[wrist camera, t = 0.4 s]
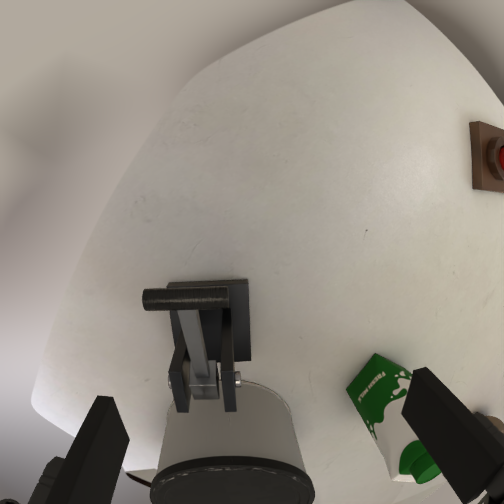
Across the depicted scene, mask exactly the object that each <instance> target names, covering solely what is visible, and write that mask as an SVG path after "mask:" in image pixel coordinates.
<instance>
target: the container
mask: <svg viewBox="0 0 504 504" xmlns="http://www.w3.org/2000/svg"><path fill="white" fill-rule="evenodd" d="M219 396H220V399H214V400H194V398H193V395H192V393H191V399H190V407H189V413H177V410H176V406H175V401H173V403H172V404H171V406H170V408H169V410H168V414H167V424H166V429H165V434H164V439H163V444H162V448H161V453H160V459H159V464H158V469H157V474H156V476H155V477H154V479H153V481H152V484H151V489H150V499H151V502H152V504H312V503H313V501H314V498H315V490H314V487H313V484H312V481H311V479H310V477H309V476H308V475H307V474H306V470H305V467H304V463H303V460H302V456H301V453H300V449H299V445H298V442H297V438H296V435H295V431H294V428H293V424H292V416H291V413H290V410H289V407H288V406H287V404H286V403H285V401H284V400H283V399H282V398H281V397H280V396H279V395H277V394H276V393H275V392H273V391H271V390H270V389H268V388H266V387H263V386H261V385H258V384H255V383H251V382H246V381H241V387H240V388H236V404H237V412H225V409H224V400H223V391H222V382H221V380H219Z"/></svg>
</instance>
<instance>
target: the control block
mask: <svg viewBox="0 0 504 504" xmlns="http://www.w3.org/2000/svg"><path fill="white" fill-rule="evenodd" d="M469 125H470V135H471V149H472V172H473V189H477V190H485V191H493V192H500V193H504V170H503V169H502V167H501V164H500V161H499V151H500V148H502V147H504V130H503V129H500V128H497V127H494V126H492V125H489V124H486V123H483V122H480V121H476V122H470V123H469Z"/></svg>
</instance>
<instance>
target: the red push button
mask: <svg viewBox="0 0 504 504" xmlns="http://www.w3.org/2000/svg"><path fill="white" fill-rule="evenodd" d="M499 161H500V164H501V167H502V169H503V170H504V147H502V148H500V151H499Z"/></svg>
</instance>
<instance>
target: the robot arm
mask: <svg viewBox="0 0 504 504" xmlns="http://www.w3.org/2000/svg"><path fill="white" fill-rule="evenodd" d="M401 415H402V416H403V417H404V419H405V420H406V422H407V423H408V424H409V426H410V427H411V429H412V430H413V432H414V433H415V434H416V436H417V437H418V439H419V440H420V442H421V443H422V444H423V446H424V447H425V449H426V450H427V452H428V453H429V455H430V456H431V457H432V459H433V460H434V462H435V463H436V465H437V466H438V468H439V469H440V471H441V472H442V473H443V475H444V476H445V478H446V479H447V481H448V482H449V484H450V485H451V487H452V488H453V490H454V491H455V493H456V494H457V496H458V497H459V499H460V500H461V502H462V503H463V504H468V503H470V502H471V501H473V500H474V499H476V498H477V497H478V496H479V495H480V494H481V493H482V492H483V491H484V490H486V491H487V494H486V495H485V496H484V497H483V498H482V499H481V500H480V502H479V503H478V504H482V503H483V502H484V504H504V434H503V433H502V432H501V431H499V429H498V428H497V427H496V426H495V425H493V423H492V422H491V421H490V420H489V419H488V418H487V417H486V416H484V415H482V414H480V413H478V412H476V413H474V414H472V413H471V412H470V411H469V410H468V409H467V408H466V406H465V405H464V404H463V403H462V402H461V401H460V400H459V399H458V398H457V397H456V396H455V395H454V394H453V393H452V392H451V391H450V390H449V389H448V388H447V387H446V386H445V385H444V384H443V383H442V382H441V381H440V380H439V379H438V378H437V377H436V376H435V375H434V374H433V373H432V372H431V371H430V370H429V369H428V368H427V367H423V368H420V369H416V370H413V374H412V378H411V381H410V385H409V388H408V392H407V395H406V399H405V402H404V405H403V408H402V411H401ZM129 441H130V439H129V436H128V434H127V432H126V429H125V427H124V424H123V422H122V419H121V417H120V414H119V412H118V409H117V406H116V404H115V401H114V398H113V397H108V396H98V395H97V397H96V399H95V401H94V403H93V405H92V407H91V408H90V410H89V412H88V414H87V416H86V418H85V420H84V422H83V424H82V426H81V428H80V430H79V432H78V434H77V435H76V437H75V440H74V441H73V444H72V446H71V448H70V450H69V452H68V454H67V456H66V458H65V459H64V458H60V457H57V456H56V457H54V458H53V459H52V460H51V461H50V462H49V463H48V464H47V465H46V467H45V469H44V471H43V475H41V477H40V479H39V483H38V484H37V486H36V487H35V489H34V492H33V494H32V496H31V498H30V500H29V502H28V504H111V500H112V497H113V493H114V490H115V486H116V483H117V479H118V476H119V473H120V469H121V466H122V463H123V460H124V456H125V453H126V450H127V447H128V444H129ZM0 504H19V503H18V502H17V501H15V500H12V499H4V500H1V501H0Z"/></svg>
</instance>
